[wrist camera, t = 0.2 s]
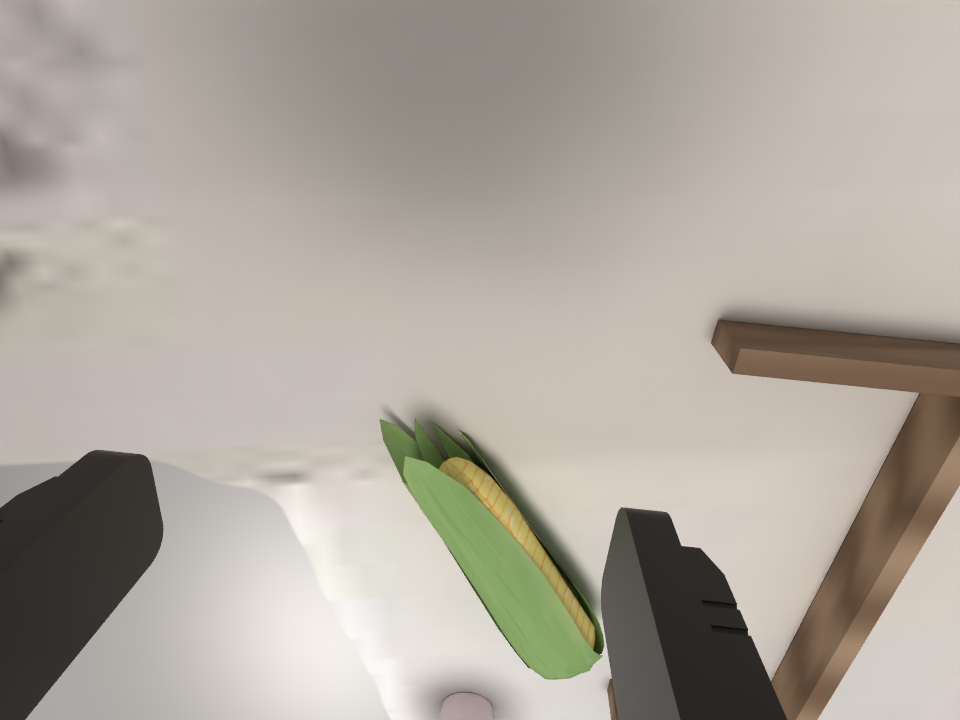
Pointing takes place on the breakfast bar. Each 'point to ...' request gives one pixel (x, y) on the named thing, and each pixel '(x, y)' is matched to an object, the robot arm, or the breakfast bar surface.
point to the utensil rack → (890, 503)
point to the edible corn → (499, 554)
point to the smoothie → (466, 707)
